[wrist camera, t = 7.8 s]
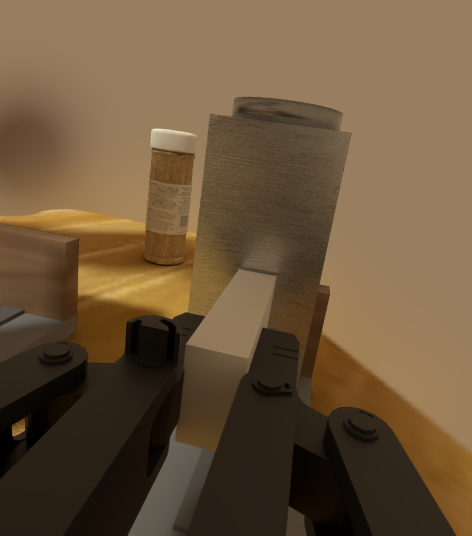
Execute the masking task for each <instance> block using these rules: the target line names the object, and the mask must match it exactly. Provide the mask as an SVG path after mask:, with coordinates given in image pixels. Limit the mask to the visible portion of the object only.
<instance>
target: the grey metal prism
mask: <svg viewBox="0 0 472 536" xmlns="http://www.w3.org/2000/svg"><path fill="white" fill-rule="evenodd" d="M342 117H343V113H341V112H340V111H337V110H334V109H331V108H327V107H323V106H318V105H314V104H308V103H303V102H297V101H290V100H282V99H273V98H262V97H238V98H234V102H233V109H232V117H230V116H223V115H216V114H210V119H209V129H208V136H207V145H206V154H205V163H204V172H203V181H202V190H201V199H200V208H199V218H198V226H197V235H196V244H195V253H194V261H193V270H192V279H191V288H190V297H189V306H188V313H192V314H197V315H201V316H206V315H207V314H208V312H209V311H210V310H211V308H212V307H213V305H214V304H215V303H216V301H217V300H218V298H219V297H220V295H221V294H222V293H223V291H224V290H225V288H226V287H227V286H228V284H229V283H230V281H231V280H232V278H233V277H234V276H235V274H236V273H237V271H238V270H239V269H241V270H246V271H251V272H256V273H261V274H267V275H272V276H277V277H276V283H275V289H274V294H273V300H272V305H271V311H270V317H269V322H268V329H273V330H277V331H282V332H287V333H291V334H294V335H295V336H296V338H297V339H298V341H299V342H300V347H299V358H298V369H297V380H296V388H297V386H298V382H299V377H300V372H301V368H302V363H303V358H304V354H305V349H306V344H307V340H308V335H309V330H310V326H311V321H312V316H313V312H314V307H315V302H316V298H317V293H318V288H319V284H320V279H321V274H322V270H323V265H324V260H325V255H326V251H327V246H328V241H329V237H330V232H331V228H332V223H333V218H334V214H335V209H336V204H337V199H338V195H339V190H340V186H341V181H342V176H343V172H344V167H345V162H346V158H347V153H348V148H349V143H350V139H351V134H352V133H350V132H342V131H340V127H341V122H342Z"/></svg>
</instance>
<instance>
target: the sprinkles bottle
mask: <svg viewBox="0 0 472 536" xmlns="http://www.w3.org/2000/svg"><path fill="white" fill-rule="evenodd" d="M150 146H151V148H152V149H153V150H151V152H152V158H151V171H150V180H149V194H148V200H147V214H146V238H145V250H144V252H143V256H144V258H145V259H146V260H148V261H151V262H154V263H157V264H165V265H166V264H168V265H172V264H179V263H181V262H183V261H184V258H185V256H184V249H185V238H186V233H187V227H188V217H189V208H190V198H191V189H192V184H191V182H192V168H193V160H194V158H195V155H194V154H195V153H196V150H197V136H196V135H195V134H191V133H187V132H179V131H173V130H166V129H153V130H152V133H151V145H150Z"/></svg>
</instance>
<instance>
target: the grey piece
mask: <svg viewBox="0 0 472 536" xmlns="http://www.w3.org/2000/svg"><path fill="white" fill-rule="evenodd" d="M78 253H79V238H75V237H70V236H64V235H59V234H54V233H49V232H43V231H38V230H33V229H28V228H23V227H17V226H12V225H7V224H2V223H0V362H2V361H5V360H7V359H9V358H11V357H14V356H16V355H18V354H20V353H23V352H25V351H27V350H29V349H32V348H34V347H36V346H39V345H42V344H46V343H52V342H56V341H63V340H65V339H66V338H68V337H69V336H70V335H72V334H73V333H74V332H76V331H77V298H78Z"/></svg>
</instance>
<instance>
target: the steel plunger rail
mask: <svg viewBox="0 0 472 536" xmlns="http://www.w3.org/2000/svg"><path fill="white" fill-rule="evenodd" d="M329 296H330V290H329V286H324V285H319V288H318V293H317V298H316V302H315V307H314V312H313V316H312V321H311V326H310V330H309V335H308V340H307V344H306V349H305V354H304V358H303V363H302V368H301V372H300V377H299V382H298V386H297V392H298V396H299V398H300V399H301V400H302V401H303V402H304V403H305V404H306V405H307V406H309V407H310V408H311V376H312V372H313V367H314V363H315V359H316V354H317V350H318V345H319V341H320V336H321V332H322V327H323V323H324V318H325V314H326V310H327V305H328V301H329ZM176 427H177V425H176ZM176 427H175V429H174V431H173V433H172V435H171V437H170V444H169V451H168V456H167V458H166V460H165V462H164V464H163V466H162V468H161V470H160V472H159V474H158V476H157V478H156V480H155V482H154V484H153V486H152V488H151V490H150V492H149V494H148V496H147V498H146V500H145V502H144V504H143V506H142V508H141V510H140V512H139V514H138V516H137V518H136V520H135V522H134V524H133V526H132V528H131V530H130V532H129V534H128V536H186V534H187V531H188V529H189V526H190V523H191V520H192V517H193V514H194V511H195V509H196V506H197V503H198V500H199V497H200V494H201V491H202V488H203V486H204V483H205V480H206V477H207V474H208V471H209V468H210V466H211V463H212V460H213V457H214V454H215V452H214V451H210V450H207V449H203V448H199V447H195V446H191V445H188V444H184V443H180V442H176V441H175V436H176ZM286 536H307V534H306V530H305V525H304V515H303V514H301V513H299V512H298V511H296V510H294V509H293V508H291V507H288V519H287V531H286Z"/></svg>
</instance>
